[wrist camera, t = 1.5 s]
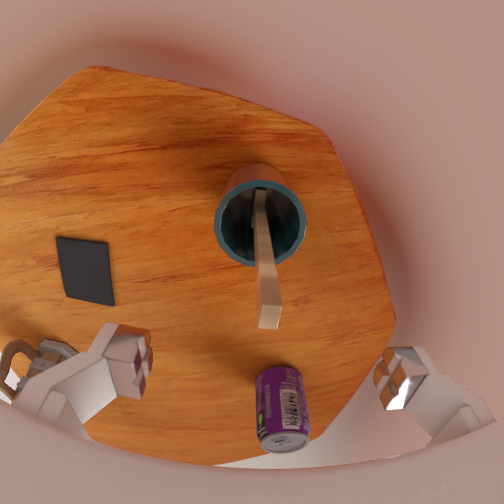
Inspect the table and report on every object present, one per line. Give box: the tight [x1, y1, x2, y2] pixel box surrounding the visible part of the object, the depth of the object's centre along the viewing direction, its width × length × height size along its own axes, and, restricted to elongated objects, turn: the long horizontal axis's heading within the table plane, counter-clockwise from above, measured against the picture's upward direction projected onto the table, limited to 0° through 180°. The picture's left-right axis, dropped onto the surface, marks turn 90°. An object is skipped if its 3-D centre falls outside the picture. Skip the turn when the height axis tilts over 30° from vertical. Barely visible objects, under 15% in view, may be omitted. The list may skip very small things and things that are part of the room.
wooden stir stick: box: [251, 186, 282, 329], centre depth 20 cm, size 3×1×20 cm, turn 173°
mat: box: [56, 237, 115, 306], centre depth 33 cm, size 9×8×1 cm
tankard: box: [0, 339, 79, 406], centre depth 34 cm, size 20×13×15 cm, turn 44°
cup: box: [214, 163, 307, 267], centre depth 25 cm, size 7×7×10 cm
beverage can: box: [255, 367, 311, 454], centre depth 36 cm, size 7×7×12 cm
